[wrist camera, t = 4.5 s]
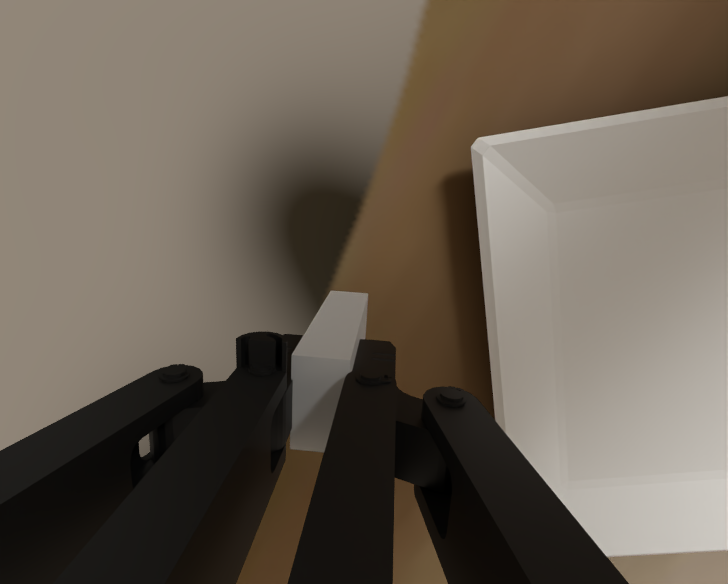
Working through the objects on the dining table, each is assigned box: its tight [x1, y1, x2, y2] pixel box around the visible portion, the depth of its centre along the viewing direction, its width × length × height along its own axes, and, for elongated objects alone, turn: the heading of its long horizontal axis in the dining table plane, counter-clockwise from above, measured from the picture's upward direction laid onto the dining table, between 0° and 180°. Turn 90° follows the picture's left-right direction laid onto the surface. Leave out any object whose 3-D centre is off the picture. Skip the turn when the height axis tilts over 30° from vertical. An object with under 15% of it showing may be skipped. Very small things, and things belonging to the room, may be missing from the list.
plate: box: [471, 96, 728, 557], centre depth 17 cm, size 19×19×2 cm
